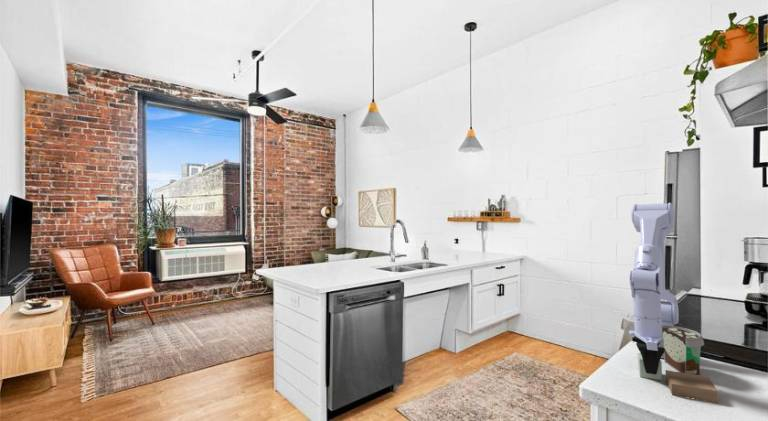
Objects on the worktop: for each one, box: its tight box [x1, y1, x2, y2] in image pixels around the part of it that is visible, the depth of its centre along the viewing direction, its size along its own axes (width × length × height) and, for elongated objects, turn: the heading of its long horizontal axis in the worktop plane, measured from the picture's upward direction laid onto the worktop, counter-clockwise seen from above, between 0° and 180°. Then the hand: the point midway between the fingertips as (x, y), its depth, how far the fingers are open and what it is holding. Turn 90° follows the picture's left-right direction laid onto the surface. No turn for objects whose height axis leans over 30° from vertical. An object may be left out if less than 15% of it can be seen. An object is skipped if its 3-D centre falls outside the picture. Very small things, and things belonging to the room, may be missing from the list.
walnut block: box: [665, 369, 720, 404], centre depth 84 cm, size 8×8×3 cm
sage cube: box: [637, 352, 663, 381], centre depth 93 cm, size 4×4×4 cm
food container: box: [662, 325, 705, 375], centre depth 95 cm, size 12×6×10 cm, turn 168°
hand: (649, 369), depth 93 cm, fingers closed on sage cube, 4 cm apart
